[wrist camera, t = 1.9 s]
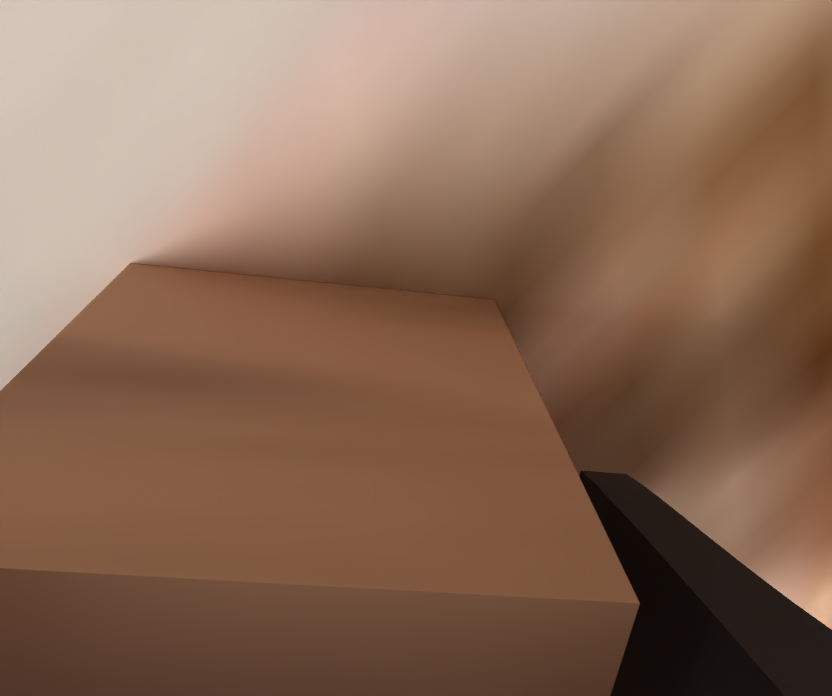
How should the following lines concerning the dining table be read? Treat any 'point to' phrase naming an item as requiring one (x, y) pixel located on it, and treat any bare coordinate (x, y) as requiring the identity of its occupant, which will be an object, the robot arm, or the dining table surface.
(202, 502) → the walnut block
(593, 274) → the dining table surface
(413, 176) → the dining table surface
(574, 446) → the dining table surface
